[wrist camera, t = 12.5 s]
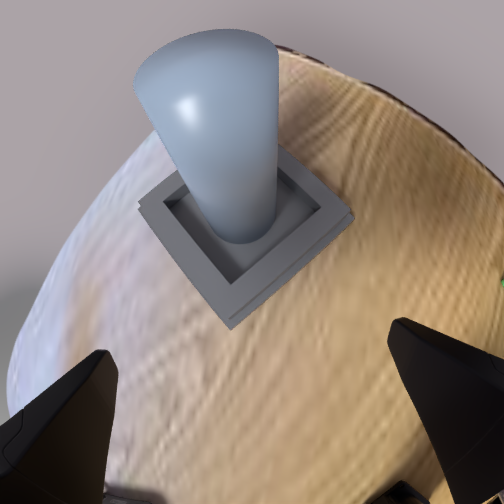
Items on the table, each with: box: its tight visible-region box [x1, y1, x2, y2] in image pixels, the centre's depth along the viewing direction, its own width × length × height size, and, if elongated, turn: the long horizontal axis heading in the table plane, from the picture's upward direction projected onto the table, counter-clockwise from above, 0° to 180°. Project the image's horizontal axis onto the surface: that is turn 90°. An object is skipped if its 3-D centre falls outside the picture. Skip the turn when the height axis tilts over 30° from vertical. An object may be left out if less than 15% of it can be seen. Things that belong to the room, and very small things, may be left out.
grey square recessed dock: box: [138, 144, 355, 330], centre depth 19 cm, size 12×12×2 cm
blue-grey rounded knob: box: [133, 29, 279, 244], centre depth 13 cm, size 5×5×13 cm
